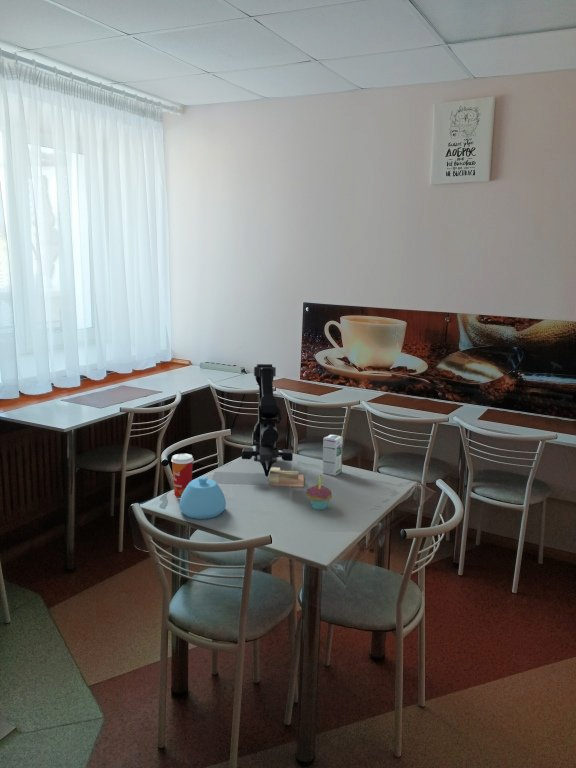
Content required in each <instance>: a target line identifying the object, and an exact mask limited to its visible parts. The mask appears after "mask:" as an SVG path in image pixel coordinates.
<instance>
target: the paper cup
mask: <svg viewBox="0 0 576 768" xmlns="http://www.w3.org/2000/svg"><path fill="white" fill-rule="evenodd" d="M170 461H171V462H172V463H171V464H172V465H171V466H172V481H173V493H174V495H175V496H176V497H177V498H178V499H181V495H182V493H183V491H184V490H185V488H186V487H187V485H188V484H189V483H190V482H191V481H193V465H194V464H193V463H194V461H195V460H194V457H193V455H192V454H189V453H177V454H174V455H172V456H171V460H170Z"/></svg>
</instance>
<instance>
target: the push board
mask: <svg viewBox="0 0 576 768" xmlns="http://www.w3.org/2000/svg"><path fill="white" fill-rule="evenodd" d="M213 472H214V473H213V475H212V477H211V480H214V481H215V482H216V483H217V484H224V485H251V486H252V485H255V486H276V485H275V484H269V475H270V473H269V474H268V477H266V476H265V472H264V473H262V472H261V473H259V472H236V471H235V472H234V471H233V472H231V471H213ZM304 478H305V475H304V474H298V482H280V481H279V485H278V487H279V486H280V487H281V486H283V487H285V486H286V487H287V486H288V487H290V488H304V487H305V485H304V484H305V483H304V482H305V479H304Z"/></svg>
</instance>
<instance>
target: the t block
mask: <svg viewBox="0 0 576 768" xmlns="http://www.w3.org/2000/svg"><path fill="white" fill-rule="evenodd" d="M269 474H270V475H269V484H275V485H274V486H279V481H280V482H298V475H299V470H298V471H297V470H281V467H276V466H271V469H270V471H269Z"/></svg>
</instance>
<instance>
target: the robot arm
mask: <svg viewBox="0 0 576 768" xmlns="http://www.w3.org/2000/svg"><path fill="white" fill-rule="evenodd" d="M276 370H277V367H275V366H273V364H271V363H267V364H266V363H256V366H253V377H254V379H255V381H256V384H258V405H257V419H258V420H257V421H256V423H255V425H254V429H253V431H252V435H251V436H252V437H251V438H252V439H251V441H252V442H251V444H252V446H253V447H243V448H242V451H241V460H252V458H253V460H254V461H256V462H257V463H260V464H261V466H262V469H263V472H264V473H265V476H266V477H268V474H270V470H271V467H273V464H274V463H277V462H278V458H281V460H282V461H284V462H293V460H294V459H293V458H294V456H293V455H294V450H293V449H289V448H288V449H287V448H283V449H282V451H279V447H276V443H277V442H278V441H279V438H280V437H279V436H280V435H279V432H278V430H277V424H278V425H279V424H280V423H281V421H282V409H281V408H280V405H278V400H277V398H276V397H275V396H274V387H273V382H274V378H275V377H277V375H276V374H277V373H276ZM254 447H255V450H254ZM267 462H268V463H267Z"/></svg>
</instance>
